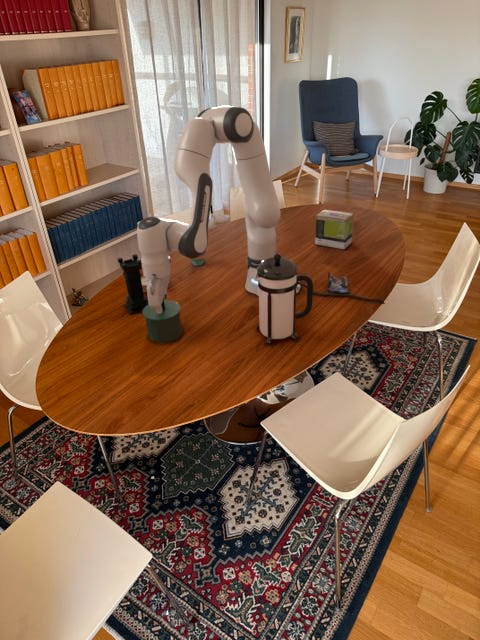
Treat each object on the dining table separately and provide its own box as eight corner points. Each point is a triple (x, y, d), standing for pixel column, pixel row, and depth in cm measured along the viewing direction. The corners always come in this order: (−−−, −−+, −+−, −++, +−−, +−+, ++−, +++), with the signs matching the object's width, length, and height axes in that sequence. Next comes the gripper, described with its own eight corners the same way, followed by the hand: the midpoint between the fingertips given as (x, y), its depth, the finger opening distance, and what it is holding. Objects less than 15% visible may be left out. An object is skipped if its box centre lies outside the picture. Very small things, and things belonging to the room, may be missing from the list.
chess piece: (131, 314, 176) (121, 266, 165) (125, 305, 182) (115, 258, 171) (151, 308, 179) (143, 261, 168) (144, 299, 185) (137, 253, 174)
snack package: (357, 286, 187) (331, 278, 193) (358, 273, 183) (331, 265, 189) (344, 303, 181) (317, 294, 186) (345, 290, 176) (317, 281, 182)
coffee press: (289, 352, 151) (291, 269, 135) (247, 339, 159) (244, 258, 143) (311, 326, 164) (316, 247, 148) (271, 315, 171) (271, 238, 155)
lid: (183, 302, 164) (181, 291, 161) (177, 322, 153) (176, 310, 150) (147, 303, 164) (145, 291, 162) (139, 322, 154) (136, 310, 151)
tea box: (351, 242, 224) (354, 212, 216) (344, 250, 217) (346, 219, 209) (322, 237, 231) (324, 208, 223) (314, 244, 224) (315, 214, 216)
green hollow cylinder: (184, 325, 168) (181, 302, 163) (179, 343, 158) (176, 320, 153) (152, 325, 169) (148, 302, 163) (145, 344, 159) (141, 320, 154)
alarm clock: (152, 271, 199) (173, 276, 189) (154, 282, 201) (175, 287, 191) (130, 281, 192) (150, 286, 182) (133, 292, 194) (153, 297, 184)
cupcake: (185, 266, 209) (182, 241, 203) (194, 258, 216) (191, 234, 209) (202, 268, 206) (200, 243, 200) (210, 260, 213) (208, 236, 207)
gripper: (160, 283, 141) (166, 321, 148) (171, 254, 158) (176, 290, 166) (139, 283, 141) (146, 322, 149) (152, 255, 159) (158, 291, 166)
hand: (162, 305), depth 157 cm, fingers open, 8 cm apart
